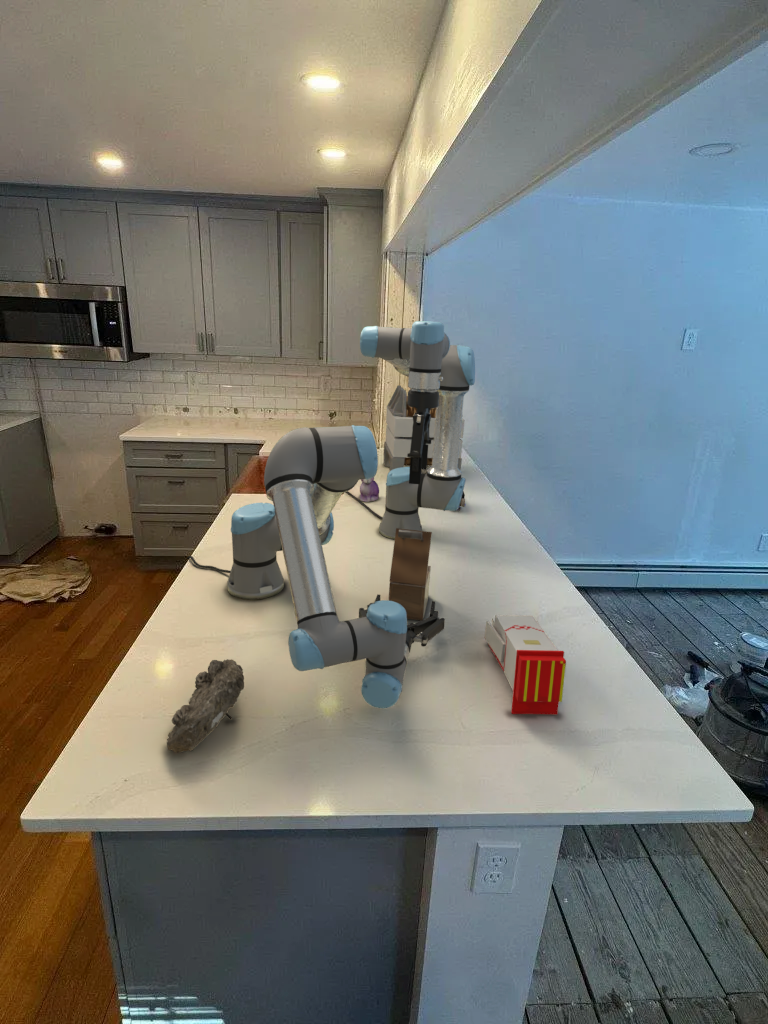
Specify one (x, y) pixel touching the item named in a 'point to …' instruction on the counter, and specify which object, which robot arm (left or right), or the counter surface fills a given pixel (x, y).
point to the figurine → (369, 490)
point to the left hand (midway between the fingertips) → (405, 602)
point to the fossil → (206, 705)
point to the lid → (410, 557)
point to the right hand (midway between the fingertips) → (418, 476)
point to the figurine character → (462, 501)
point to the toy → (527, 663)
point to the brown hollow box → (411, 597)
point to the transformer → (406, 432)
